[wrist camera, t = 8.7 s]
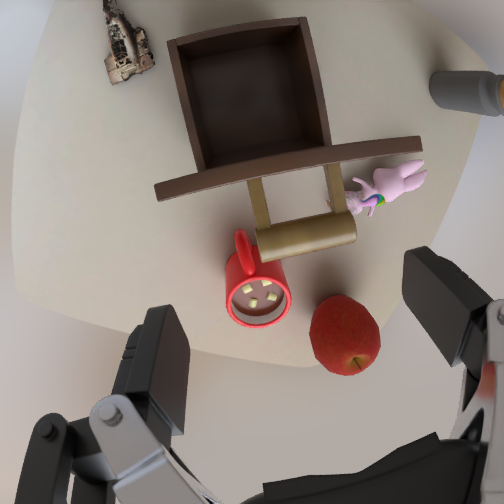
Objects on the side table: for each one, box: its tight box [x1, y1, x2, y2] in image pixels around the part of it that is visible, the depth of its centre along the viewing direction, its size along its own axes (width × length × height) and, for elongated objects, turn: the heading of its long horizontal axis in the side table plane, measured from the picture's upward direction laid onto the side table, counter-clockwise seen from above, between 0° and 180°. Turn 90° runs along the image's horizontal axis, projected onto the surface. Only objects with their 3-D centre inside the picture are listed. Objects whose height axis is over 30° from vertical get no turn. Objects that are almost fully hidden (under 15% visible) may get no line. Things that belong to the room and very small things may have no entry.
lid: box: [154, 136, 423, 263], centre depth 20 cm, size 14×13×5 cm
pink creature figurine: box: [326, 160, 427, 217], centre depth 36 cm, size 6×6×15 cm
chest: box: [167, 17, 332, 172], centre depth 28 cm, size 14×13×10 cm
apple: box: [309, 295, 381, 376], centre depth 41 cm, size 10×10×14 cm
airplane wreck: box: [103, 0, 155, 85], centre depth 23 cm, size 6×18×6 cm, turn 16°
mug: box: [226, 229, 291, 328], centre depth 38 cm, size 8×12×8 cm, turn 18°
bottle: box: [430, 71, 504, 116], centre depth 25 cm, size 6×6×15 cm
